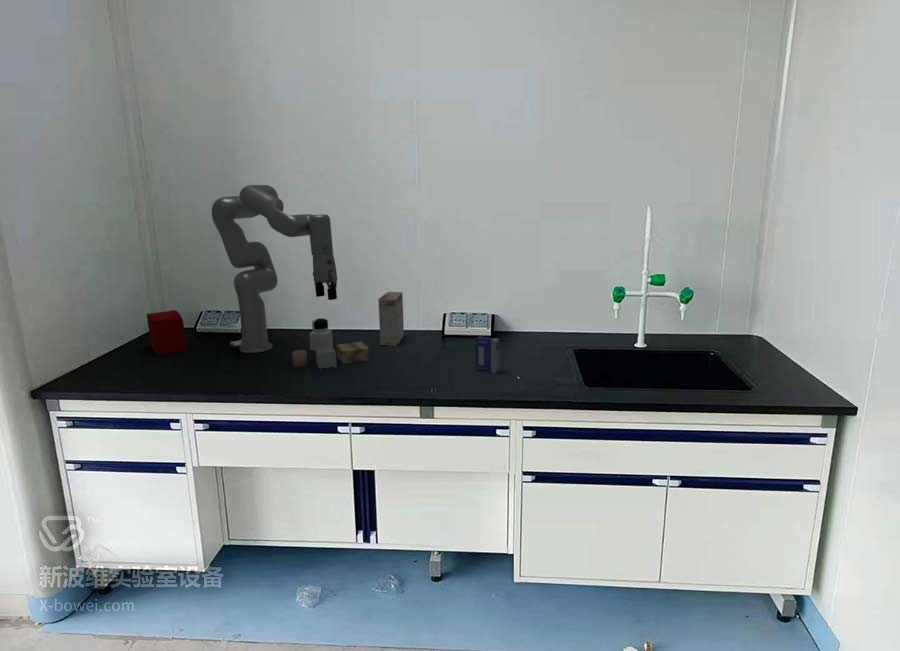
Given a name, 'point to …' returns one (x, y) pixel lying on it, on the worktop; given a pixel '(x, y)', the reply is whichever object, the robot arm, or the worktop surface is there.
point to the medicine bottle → (320, 335)
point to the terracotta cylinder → (299, 358)
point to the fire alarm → (166, 332)
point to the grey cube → (326, 357)
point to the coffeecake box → (391, 318)
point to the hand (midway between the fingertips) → (326, 297)
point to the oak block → (352, 352)
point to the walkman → (487, 354)
